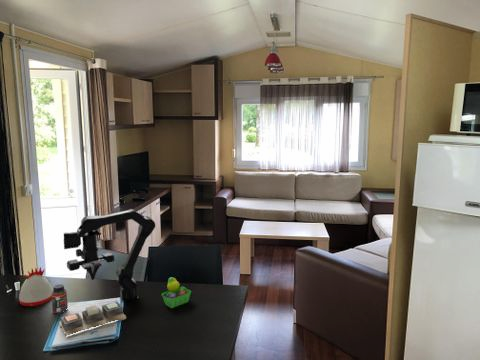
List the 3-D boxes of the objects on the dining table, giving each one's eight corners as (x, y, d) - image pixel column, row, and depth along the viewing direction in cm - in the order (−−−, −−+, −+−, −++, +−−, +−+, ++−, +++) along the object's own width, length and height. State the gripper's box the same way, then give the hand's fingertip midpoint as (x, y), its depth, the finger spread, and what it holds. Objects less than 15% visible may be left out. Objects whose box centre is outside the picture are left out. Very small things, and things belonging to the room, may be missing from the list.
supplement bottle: (62, 314, 160) (59, 289, 159) (49, 313, 162) (47, 288, 160) (70, 308, 166) (68, 283, 165) (58, 306, 167) (56, 282, 166)
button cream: (96, 311, 157) (95, 305, 157) (99, 315, 154) (98, 308, 154) (86, 314, 155) (85, 307, 154) (89, 318, 152) (88, 311, 151)
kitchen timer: (55, 300, 174) (53, 269, 171) (21, 309, 166) (17, 276, 164) (50, 289, 185) (48, 260, 183) (18, 297, 177) (15, 266, 175)
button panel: (116, 307, 166) (115, 298, 166) (126, 318, 157) (125, 309, 156) (59, 324, 153) (58, 314, 152) (66, 337, 143) (65, 327, 143)
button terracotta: (76, 320, 153) (75, 313, 152) (78, 324, 149) (78, 318, 149) (65, 323, 150) (64, 317, 150) (67, 327, 147) (67, 321, 147)
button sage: (115, 308, 162) (115, 302, 162) (118, 312, 159) (118, 306, 159) (106, 311, 160) (105, 305, 159) (109, 315, 157) (108, 308, 156)
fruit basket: (170, 310, 164) (169, 285, 162) (159, 303, 170) (158, 279, 169) (192, 302, 171) (191, 278, 169) (181, 295, 178) (180, 272, 176)
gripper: (105, 237, 176) (107, 269, 179) (62, 245, 165) (65, 279, 168) (113, 243, 167) (115, 276, 170) (68, 252, 156) (71, 287, 159)
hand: (92, 279), depth 167 cm, fingers closed
